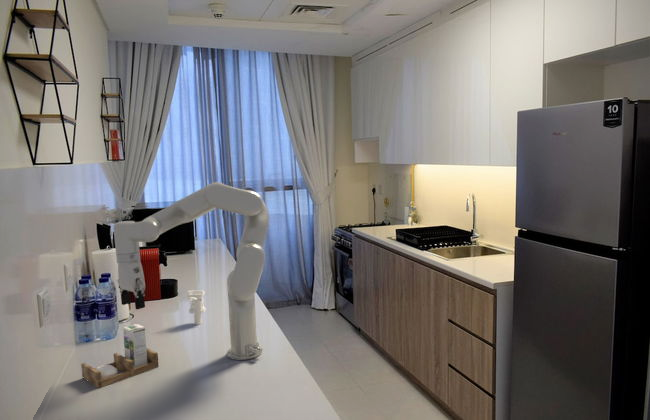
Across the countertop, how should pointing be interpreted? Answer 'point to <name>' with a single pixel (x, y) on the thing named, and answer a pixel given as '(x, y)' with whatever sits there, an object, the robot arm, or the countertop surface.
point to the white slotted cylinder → (196, 305)
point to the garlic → (107, 371)
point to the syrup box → (135, 344)
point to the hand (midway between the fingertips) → (133, 306)
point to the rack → (122, 365)
